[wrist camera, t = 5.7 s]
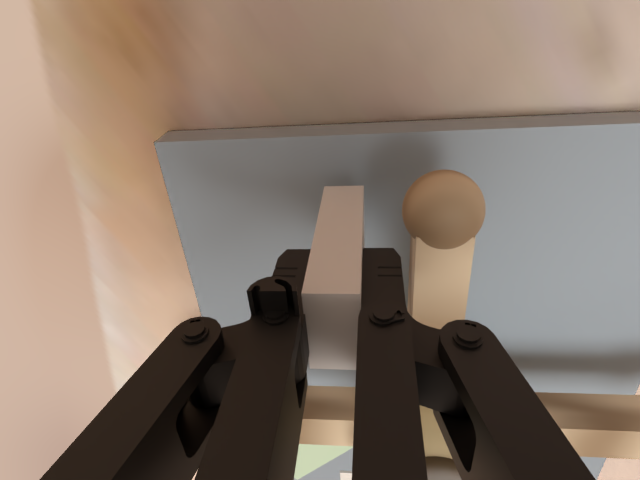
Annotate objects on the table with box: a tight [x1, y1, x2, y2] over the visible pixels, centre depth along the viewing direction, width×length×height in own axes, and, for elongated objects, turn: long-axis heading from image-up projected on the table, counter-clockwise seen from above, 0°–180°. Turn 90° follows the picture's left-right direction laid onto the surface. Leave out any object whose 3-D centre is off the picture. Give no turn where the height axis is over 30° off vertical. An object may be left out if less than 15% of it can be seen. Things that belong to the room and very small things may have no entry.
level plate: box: [154, 111, 640, 480], centre depth 23 cm, size 24×22×3 cm
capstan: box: [299, 169, 640, 480], centre depth 19 cm, size 24×24×7 cm
